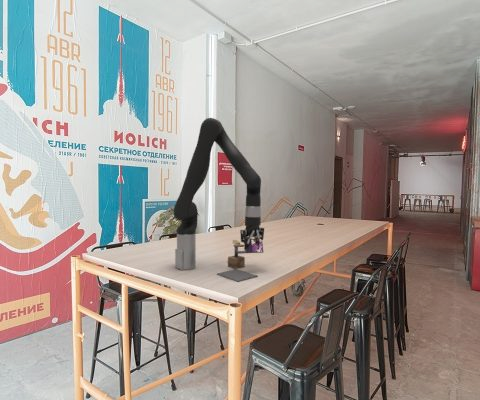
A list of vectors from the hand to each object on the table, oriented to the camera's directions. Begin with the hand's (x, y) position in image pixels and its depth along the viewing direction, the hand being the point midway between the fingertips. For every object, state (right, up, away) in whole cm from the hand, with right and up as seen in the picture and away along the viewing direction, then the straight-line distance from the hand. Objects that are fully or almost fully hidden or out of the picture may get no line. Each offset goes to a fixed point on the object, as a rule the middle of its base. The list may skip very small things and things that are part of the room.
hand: (252, 250), depth 154 cm
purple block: (0, -1, 0) cm, 1 cm away
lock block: (-8, -10, +9) cm, 16 cm away
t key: (-3, -4, +10) cm, 11 cm away
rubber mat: (-7, -11, -6) cm, 14 cm away
